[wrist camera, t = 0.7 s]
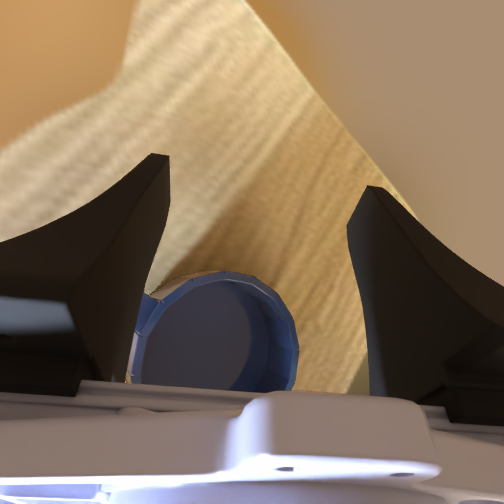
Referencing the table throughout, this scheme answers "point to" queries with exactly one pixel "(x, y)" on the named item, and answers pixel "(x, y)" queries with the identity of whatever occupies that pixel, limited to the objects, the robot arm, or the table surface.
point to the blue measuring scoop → (215, 336)
